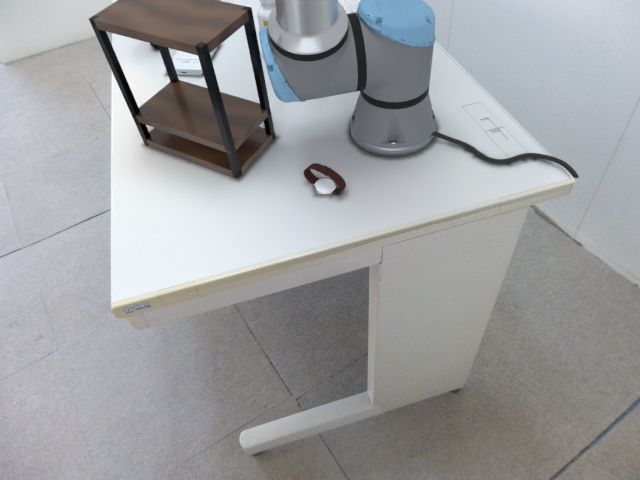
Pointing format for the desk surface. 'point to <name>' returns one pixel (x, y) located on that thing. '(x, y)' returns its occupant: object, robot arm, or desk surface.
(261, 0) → the supplement bottle
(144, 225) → the desk surface
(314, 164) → the watch
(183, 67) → the hard drive
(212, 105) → the rack
